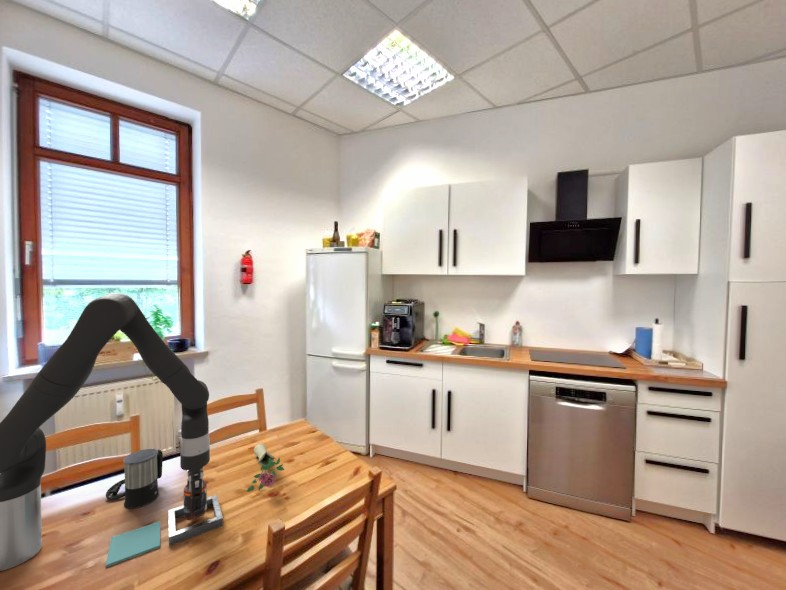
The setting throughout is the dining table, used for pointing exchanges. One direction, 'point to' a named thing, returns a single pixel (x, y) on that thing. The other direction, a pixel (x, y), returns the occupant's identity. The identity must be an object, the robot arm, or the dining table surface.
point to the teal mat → (133, 543)
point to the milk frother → (139, 478)
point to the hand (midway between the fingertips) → (195, 503)
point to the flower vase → (265, 467)
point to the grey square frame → (197, 528)
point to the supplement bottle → (188, 503)
